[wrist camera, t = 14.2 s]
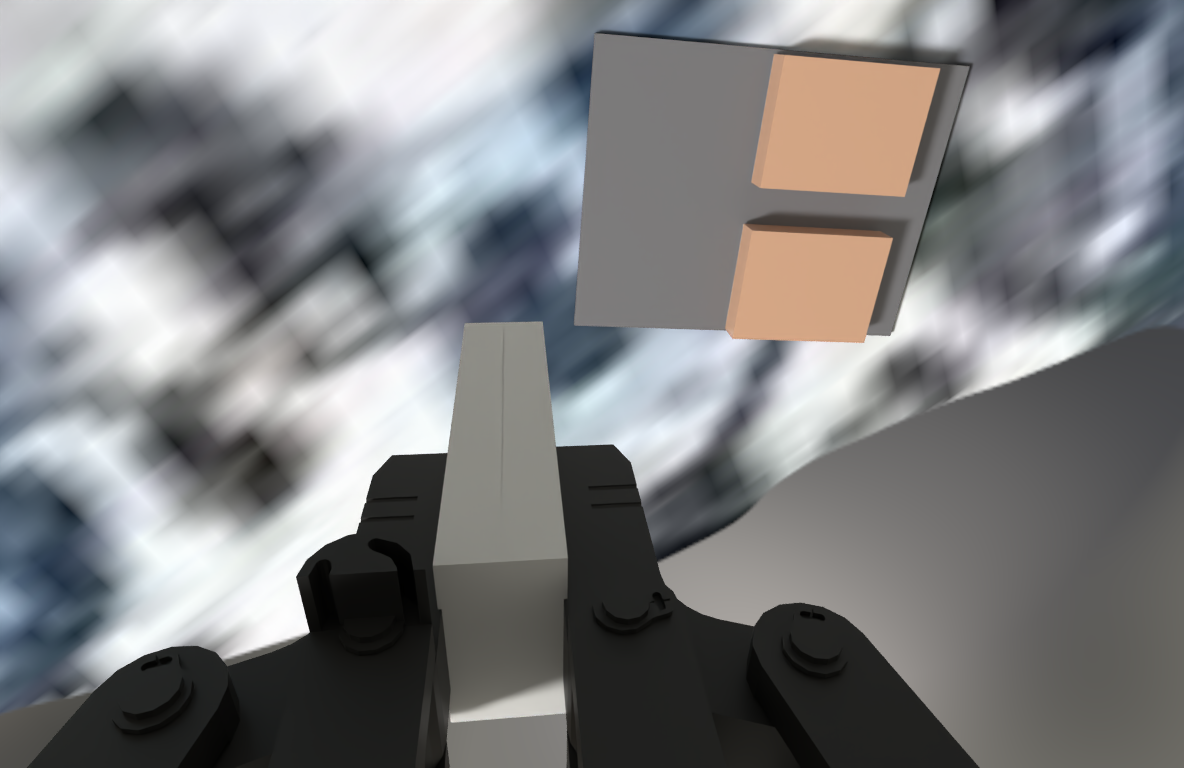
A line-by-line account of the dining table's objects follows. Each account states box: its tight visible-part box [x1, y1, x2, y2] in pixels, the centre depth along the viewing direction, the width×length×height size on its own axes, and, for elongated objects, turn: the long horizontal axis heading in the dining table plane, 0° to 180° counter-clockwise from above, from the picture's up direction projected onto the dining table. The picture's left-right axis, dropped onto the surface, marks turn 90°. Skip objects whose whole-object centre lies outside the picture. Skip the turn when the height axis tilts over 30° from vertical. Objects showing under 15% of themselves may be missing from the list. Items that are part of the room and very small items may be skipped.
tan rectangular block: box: [751, 54, 940, 197], centre depth 40 cm, size 7×2×9 cm
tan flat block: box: [725, 224, 893, 343], centre depth 44 cm, size 7×2×9 cm
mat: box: [574, 33, 970, 336], centre depth 42 cm, size 17×22×1 cm
